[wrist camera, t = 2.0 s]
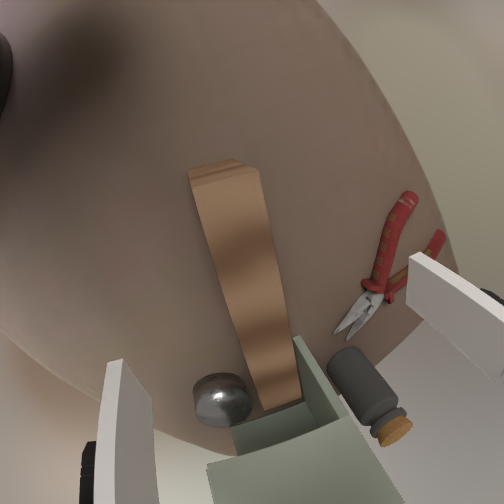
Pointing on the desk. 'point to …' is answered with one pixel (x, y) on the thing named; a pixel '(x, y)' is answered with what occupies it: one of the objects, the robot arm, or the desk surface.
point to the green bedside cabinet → (302, 453)
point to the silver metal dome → (221, 400)
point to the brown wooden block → (248, 274)
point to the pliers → (387, 266)
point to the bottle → (368, 396)
